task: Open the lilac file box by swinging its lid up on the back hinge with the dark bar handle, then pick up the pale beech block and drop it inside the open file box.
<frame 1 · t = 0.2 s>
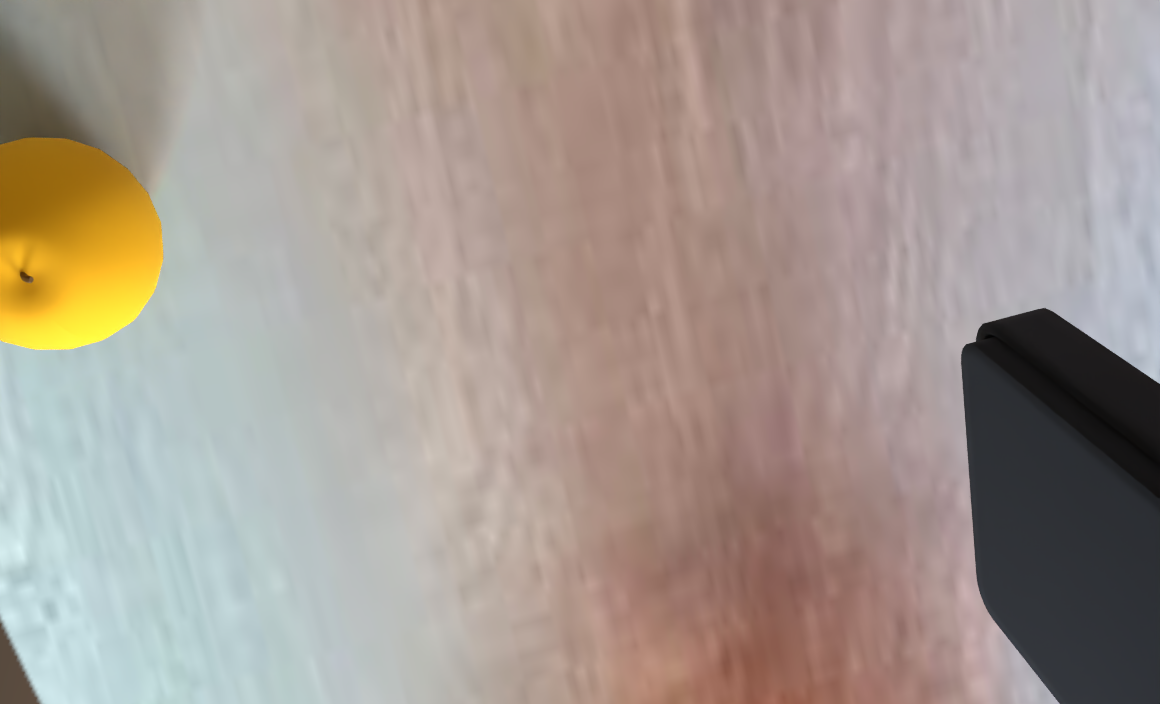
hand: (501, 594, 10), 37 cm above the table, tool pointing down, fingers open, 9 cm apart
apple: (77, 217, 45), on the table
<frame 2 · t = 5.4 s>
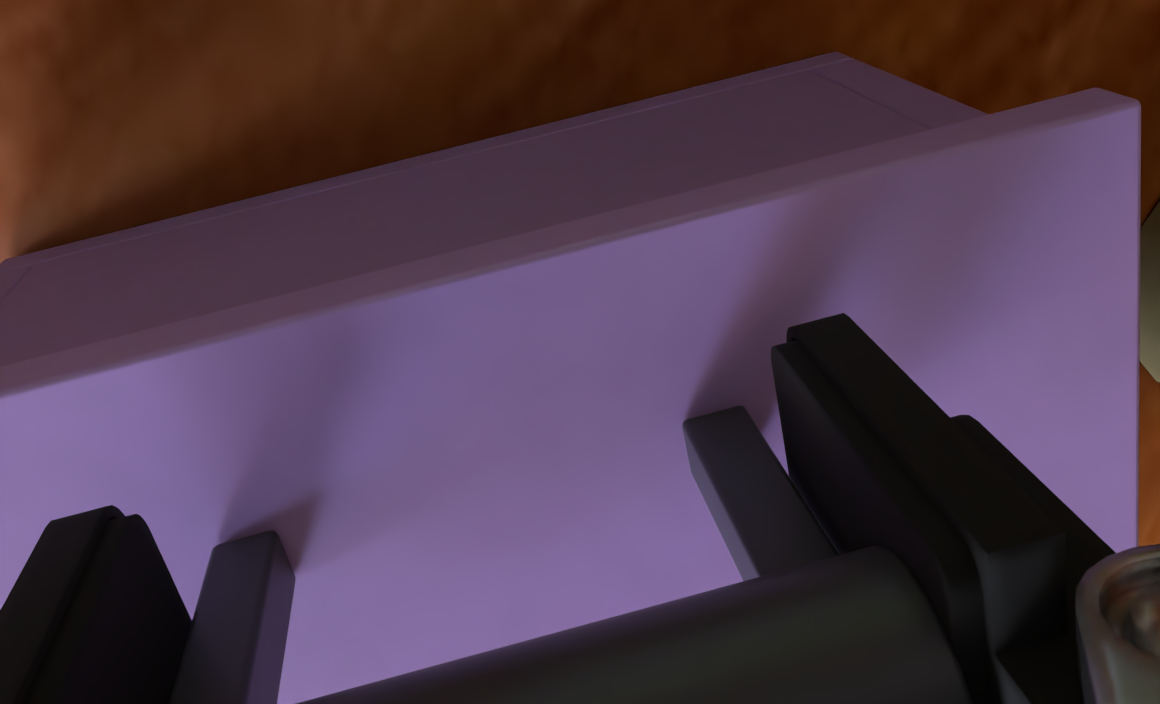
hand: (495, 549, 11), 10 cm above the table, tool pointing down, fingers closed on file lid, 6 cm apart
file box: (514, 463, 21), on the table
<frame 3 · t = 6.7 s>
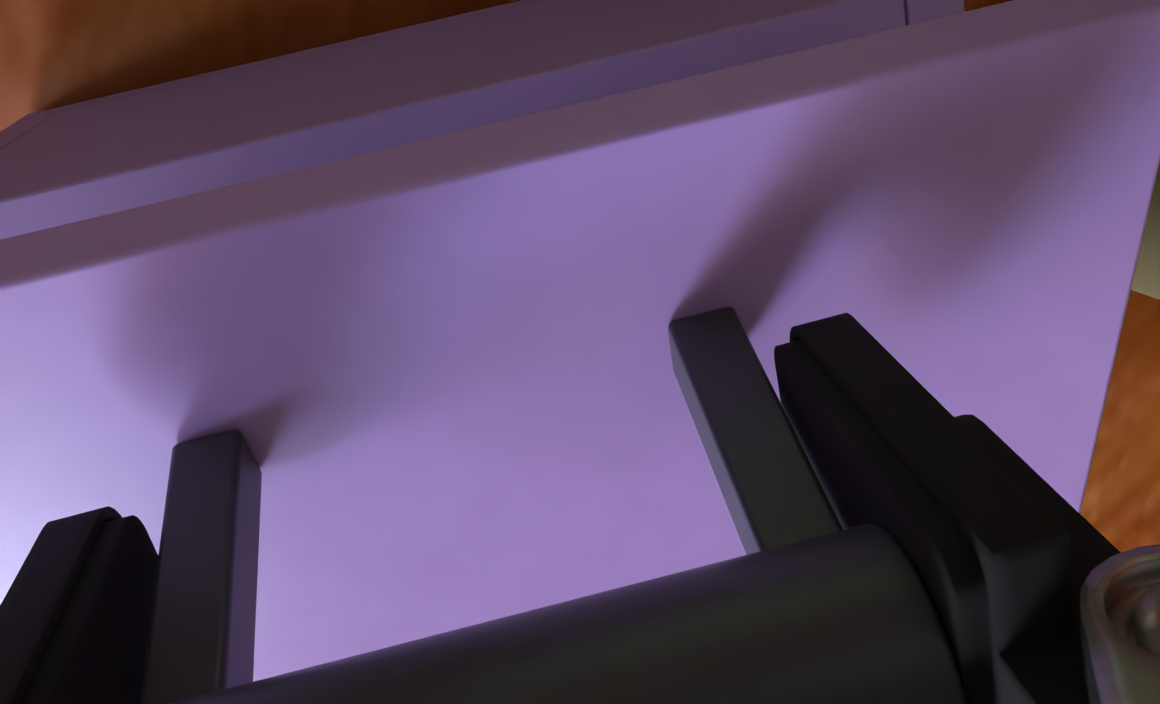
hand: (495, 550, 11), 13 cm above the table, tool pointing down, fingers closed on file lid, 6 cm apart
file box: (486, 324, 23), on the table
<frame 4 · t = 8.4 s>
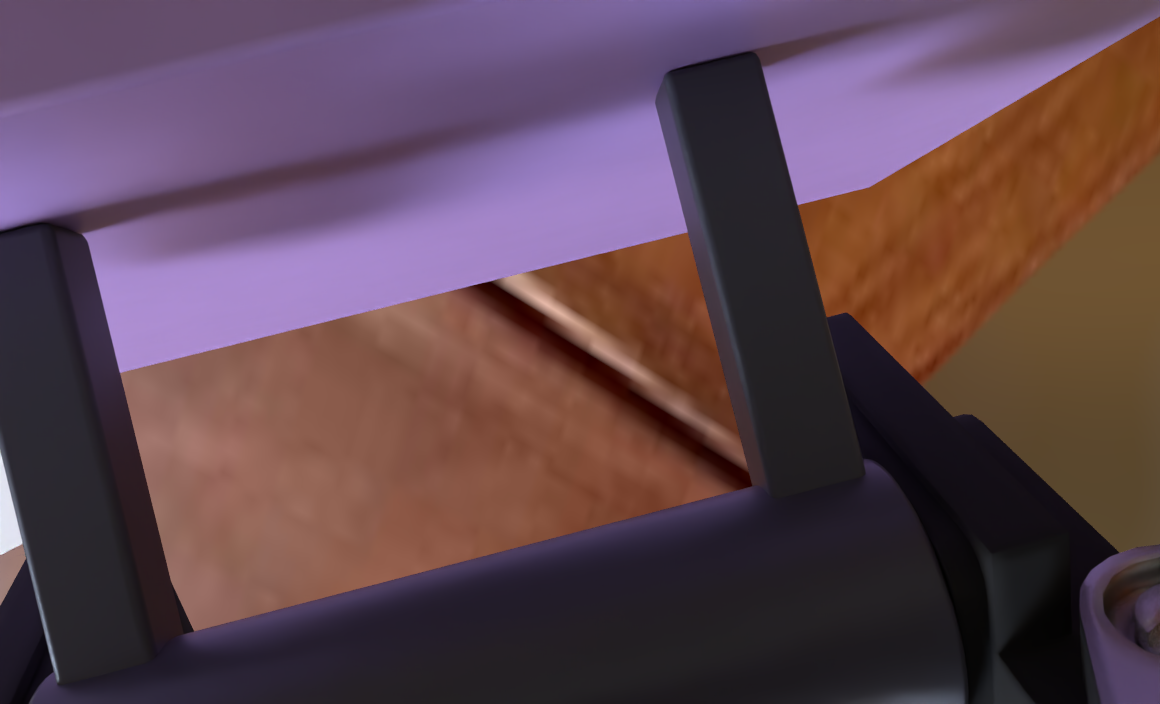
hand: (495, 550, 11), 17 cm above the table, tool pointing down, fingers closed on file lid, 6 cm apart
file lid: (471, 419, 12), point 15 cm above the table, hinge at 64.2°, touching gripper
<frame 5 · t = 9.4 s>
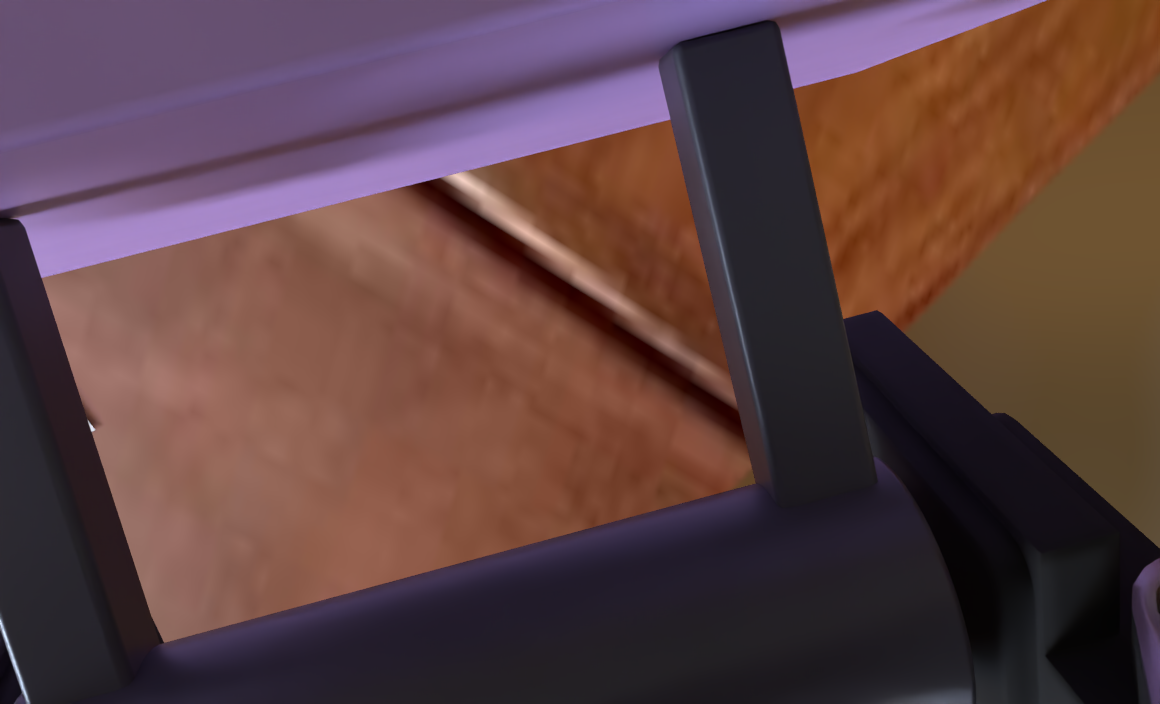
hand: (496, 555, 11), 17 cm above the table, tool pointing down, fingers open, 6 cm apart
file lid: (448, 359, 11), point 15 cm above the table, hinge at 73.2°
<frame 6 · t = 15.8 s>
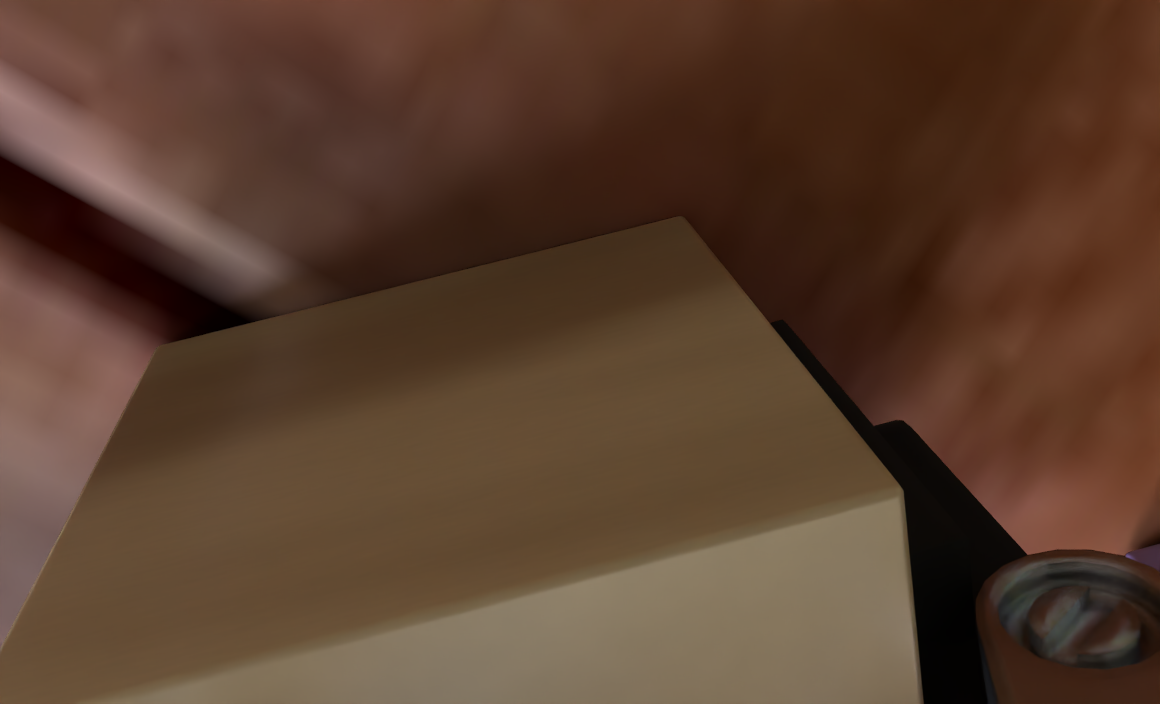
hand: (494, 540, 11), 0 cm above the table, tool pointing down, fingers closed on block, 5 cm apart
block: (487, 502, 11), on the table, touching gripper
when the fingers open (6 cm above the table, at t = 22.8 s): block drops 5 cm, resting on file box.
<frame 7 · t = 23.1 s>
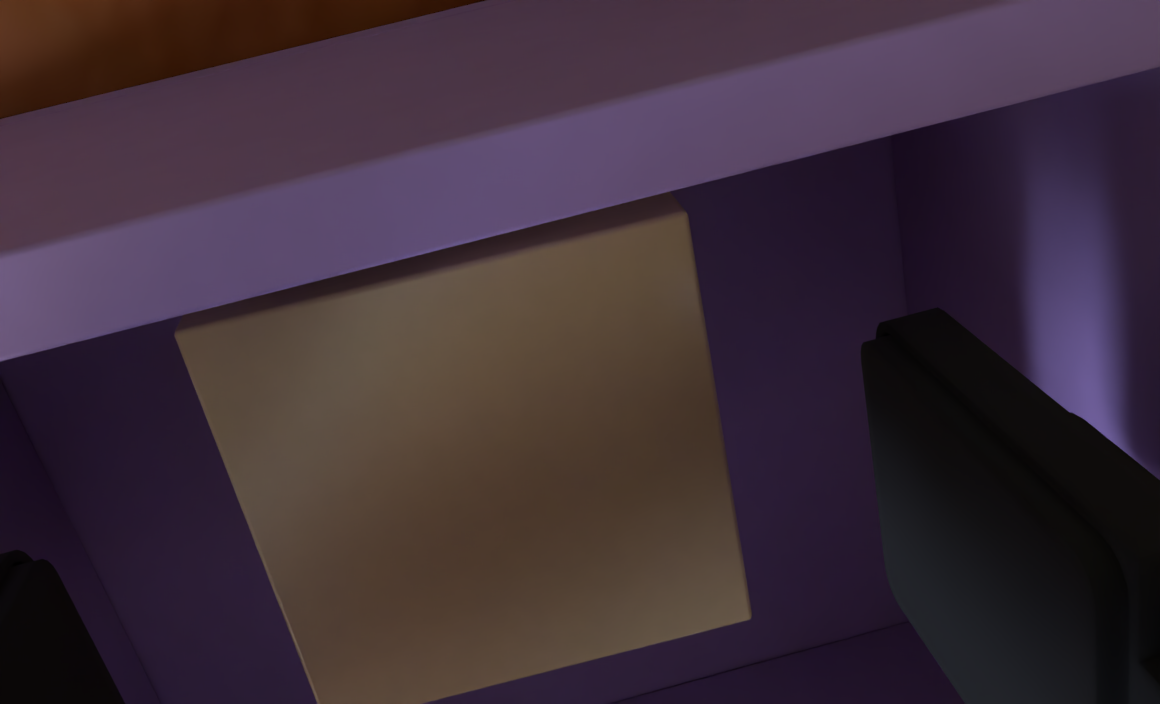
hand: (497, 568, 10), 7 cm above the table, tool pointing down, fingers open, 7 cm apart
block: (468, 315, 16), point 1 cm above the table, touching file box
file box: (501, 419, 18), on the table
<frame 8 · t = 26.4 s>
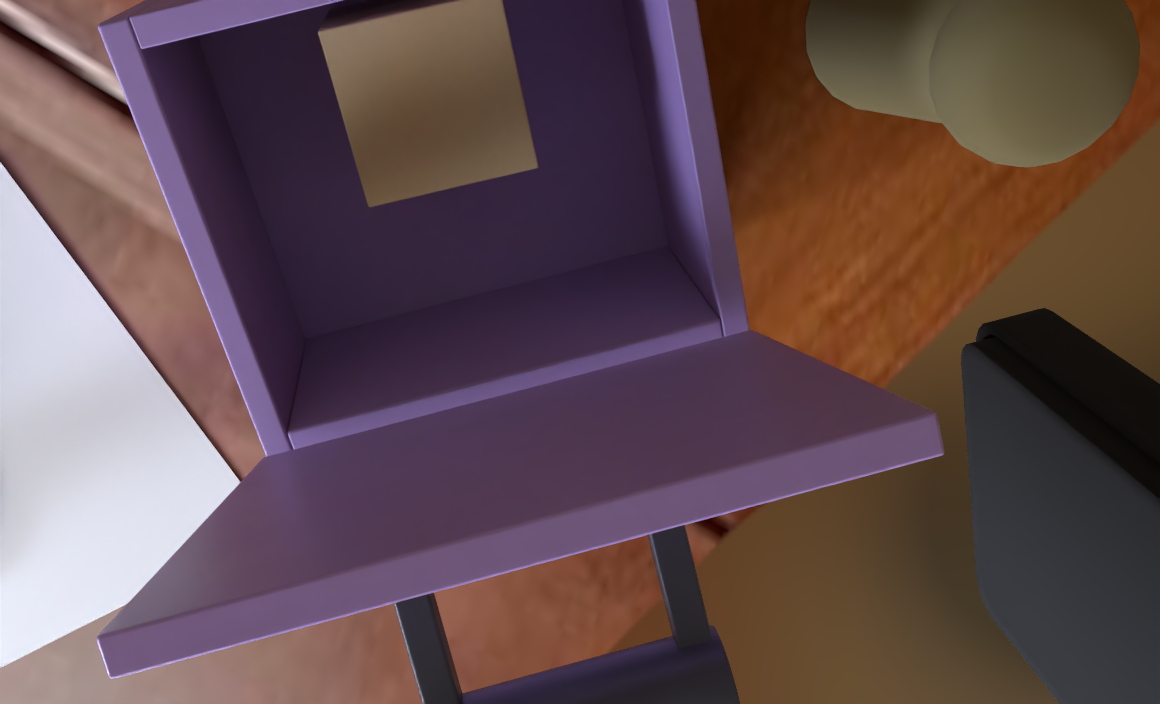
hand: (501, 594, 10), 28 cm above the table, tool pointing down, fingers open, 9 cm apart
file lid: (546, 558, 25), point 15 cm above the table, hinge at 73.2°
grey green pawn: (888, 22, 37), on the table
block: (428, 72, 35), point 1 cm above the table, touching file box
file box: (446, 133, 36), on the table
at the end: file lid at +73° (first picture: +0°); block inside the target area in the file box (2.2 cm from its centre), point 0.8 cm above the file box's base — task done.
